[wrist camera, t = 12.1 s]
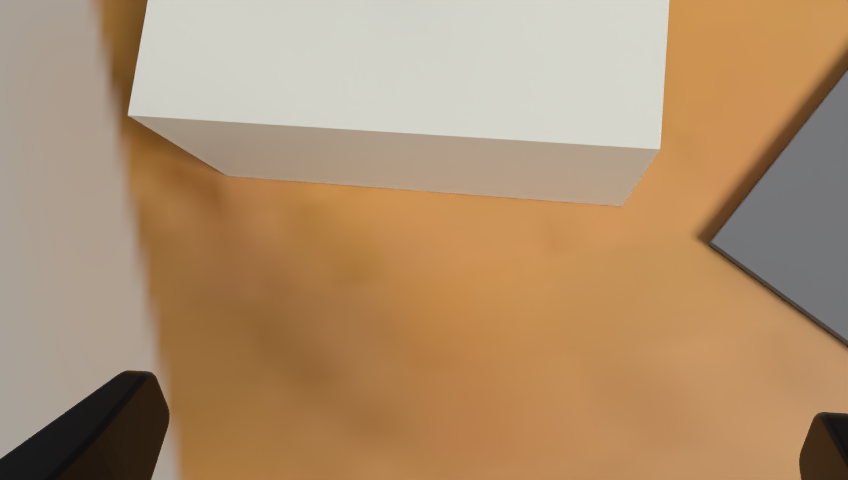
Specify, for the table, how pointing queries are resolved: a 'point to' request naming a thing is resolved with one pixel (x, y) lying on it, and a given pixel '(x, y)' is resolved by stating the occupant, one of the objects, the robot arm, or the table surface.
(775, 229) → the mat
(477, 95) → the cover
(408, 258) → the table surface
